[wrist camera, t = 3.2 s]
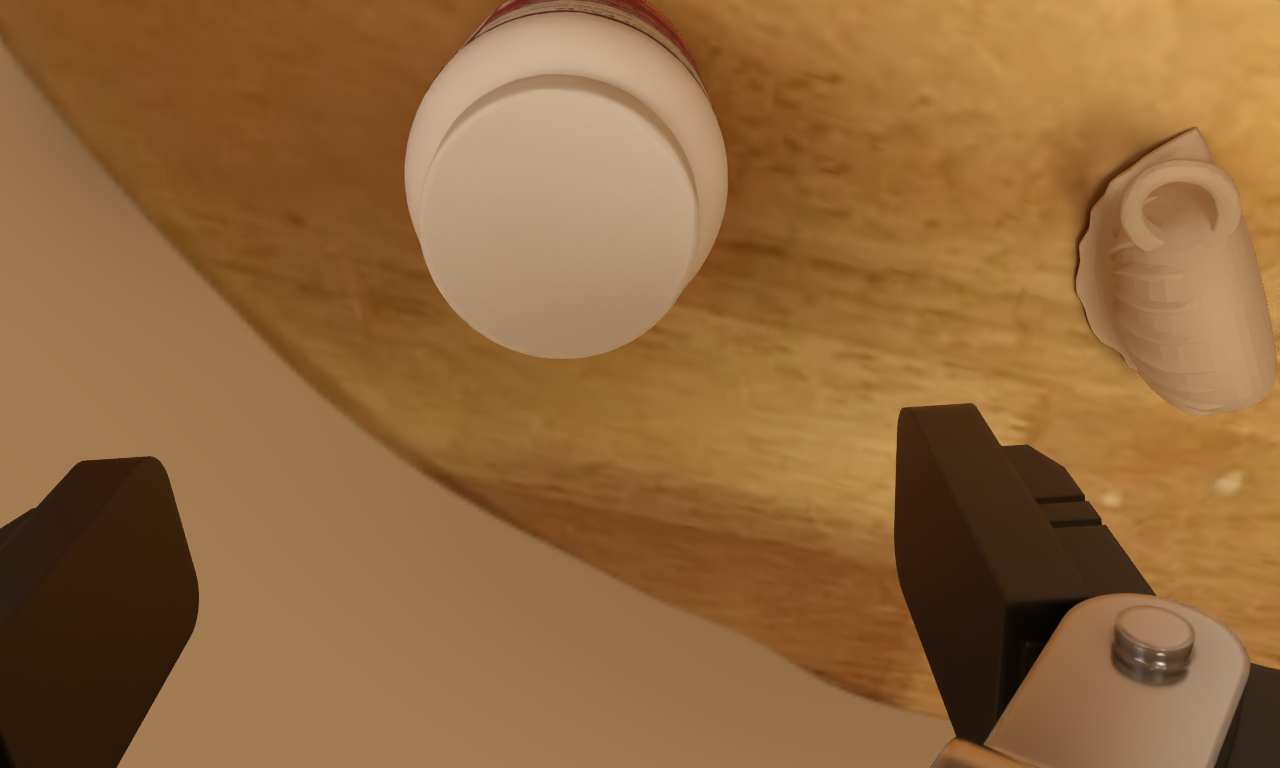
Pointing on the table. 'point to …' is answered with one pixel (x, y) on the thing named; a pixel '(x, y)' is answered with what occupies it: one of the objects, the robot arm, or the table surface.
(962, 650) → the robot arm
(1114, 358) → the table surface
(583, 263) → the pill bottle
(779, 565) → the table surface
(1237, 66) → the table surface
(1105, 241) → the decorative ornament
